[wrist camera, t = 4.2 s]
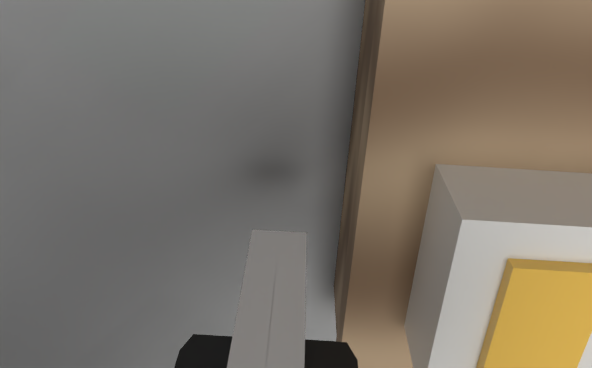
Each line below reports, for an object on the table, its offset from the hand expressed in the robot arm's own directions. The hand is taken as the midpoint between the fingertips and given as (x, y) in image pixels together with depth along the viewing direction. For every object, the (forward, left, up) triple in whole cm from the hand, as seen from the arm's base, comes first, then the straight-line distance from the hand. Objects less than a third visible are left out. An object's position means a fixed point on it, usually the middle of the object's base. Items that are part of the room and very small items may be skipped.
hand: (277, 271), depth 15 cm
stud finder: (0, -9, -2) cm, 9 cm away
